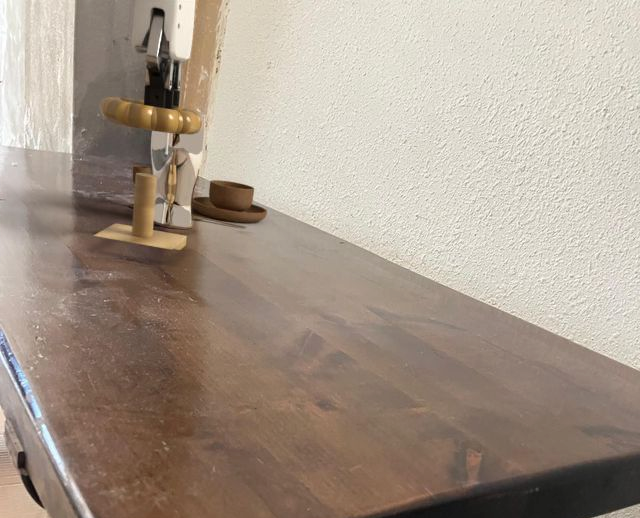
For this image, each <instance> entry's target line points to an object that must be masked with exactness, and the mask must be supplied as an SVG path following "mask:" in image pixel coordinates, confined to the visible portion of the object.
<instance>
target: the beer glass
mask: <svg viewBox="0 0 640 518" xmlns="http://www.w3.org/2000/svg"><path fill="white" fill-rule="evenodd" d="M197 112H198V113H200V114H201V115H202V117H203V119H204V126H203V129H202V130H201V131H200V132H198V133H195V134H191V135H188V134H173V133H166V132H158V131H151V137H150V138H151V140H150V159H151V171H152V175H155V176H157V185H156V198H155V211H154V223H153V225H155V226H159V227H162V228H168V229H176V230H188V229H192V228H193V226H194V220H193V218H192V215H193V205H192V199H193V198H194V192H195V189H196V185H197V181H198V178H199V173H200V170H201V166H202V162H203V156H204V151H205V150H204V148H205V136H206V134H205V133H206V113H204V112H200V111H197Z"/></svg>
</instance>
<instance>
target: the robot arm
mask: <svg viewBox="0 0 640 518" xmlns="http://www.w3.org/2000/svg"><path fill="white" fill-rule="evenodd" d="M195 13H196V0H135V2H134V12H133V25H132V33H131V34H132V36H131V47H132V49H133V50H134V52H135V53H137V54H140V55H143V56H144V55H145V61H146V64H145V65H146V66H145V67H146V68H145V82H144V83H145V84H144V95H143V100H144V105H147V106H152V107H159V108H166V109H172V108H173V106H178V107H180V97H181V90H180V89H181V81H182V80H181V79H182V65H183V62H186V61H187V60H189V59H190V57H191V54H192V53H191V52H192V46H193V39H194V27H195V15H196V14H195ZM163 55H166V56H168V57H164V56H163Z"/></svg>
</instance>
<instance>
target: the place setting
mask: <svg viewBox="0 0 640 518" xmlns="http://www.w3.org/2000/svg"><path fill="white" fill-rule="evenodd" d="M136 173H146V174H151V167H149V166H146V165H140V164H139V165H138V164H133V167H132V182H133V184H134V185H135V180H136ZM208 188H209V190H208V196H195V197H193V199H192V208H193V209H194V210H195V211H197V212H198V213H199V214H201V215H202V216H206V217H198V216H195V215H193V214H192V218H193V219H194V220H196V221H203V220H205V221H211V222H215V223H220V224H223V225H229V226H233V227H238V228H244V229H246V228H247V226H245V225H239V224H234V223H240V224H241V223H244V224H253V223H258V222H261V221H263V220H264V219H265V218H266V217H267V215H268V210H267V209H266V208H264V207H262V206H259V205H256V204H254V203H253V201H254V194H255V187H254V186H251V185H249V184H245V183H241V182H234V181H229V180H220V179H213V180H210V181H209V187H208ZM129 207H130V208H132V209H134V203H130V204H129ZM207 217H208V218H207ZM211 218H212V219H211ZM229 222H231V223H229ZM232 222H233V223H232Z"/></svg>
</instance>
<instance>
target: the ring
mask: <svg viewBox="0 0 640 518" xmlns="http://www.w3.org/2000/svg"><path fill="white" fill-rule="evenodd" d="M98 107H99V113H100V115H101V116H102V117H103V118H104V120H107V121H109V122H111V123H113V124H117V125H121V126H125V127H128V128H129V127H130V128H136V129H139V130H147V131H151V132H152V131H158V132H166V133H173V134H188V135H191V134H195V133H198V132H200V131H201V130H202V129H203V126H204V119H203V117H202V115H201V114H200V113H198V112H199V111H197V110H194V109H191V108H187V107H182V106H179V107H178V106H173V108H172V109H166V108H159V107H152V106H147V105H144V99H137V98H130V97H119V96H107V97H104V98H103V99H102V100H101V101H100V103H99V106H98Z"/></svg>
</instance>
